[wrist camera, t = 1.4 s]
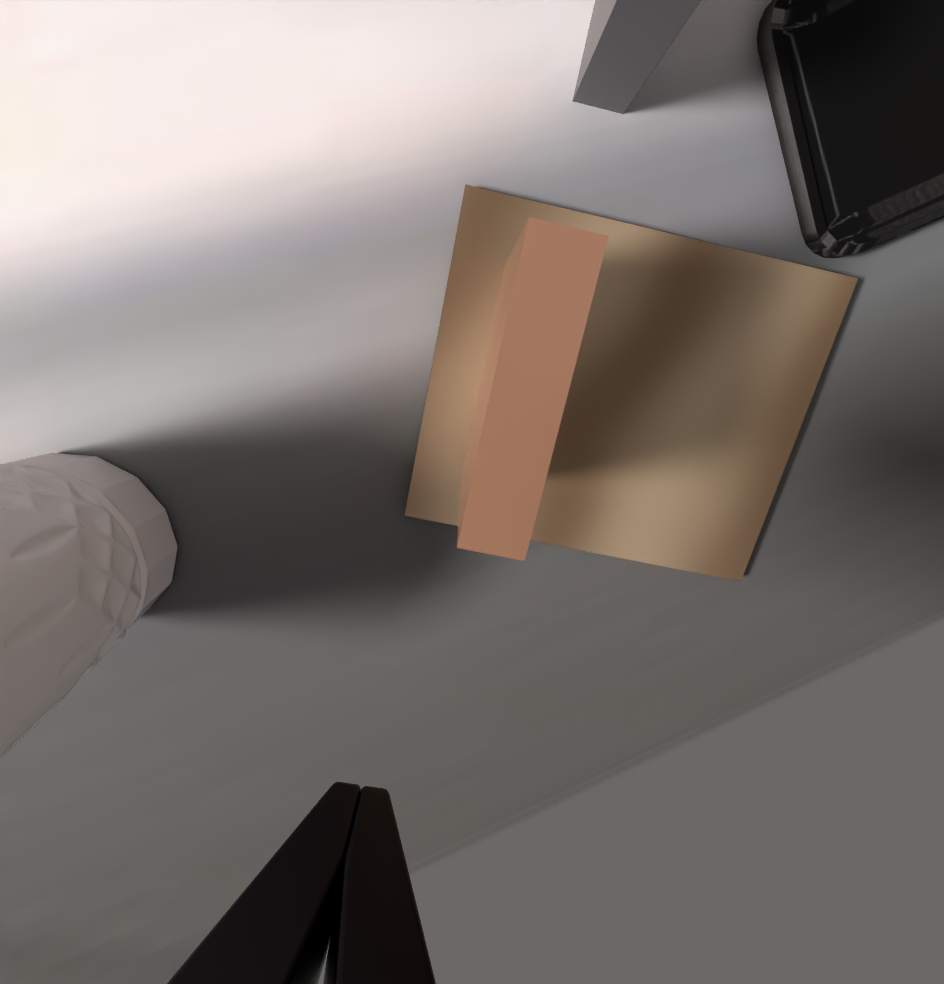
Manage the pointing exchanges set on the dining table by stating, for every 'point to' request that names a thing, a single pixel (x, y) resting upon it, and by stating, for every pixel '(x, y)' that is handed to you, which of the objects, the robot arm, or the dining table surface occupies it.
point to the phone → (858, 115)
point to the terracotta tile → (525, 384)
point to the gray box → (626, 48)
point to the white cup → (71, 576)
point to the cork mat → (642, 388)
